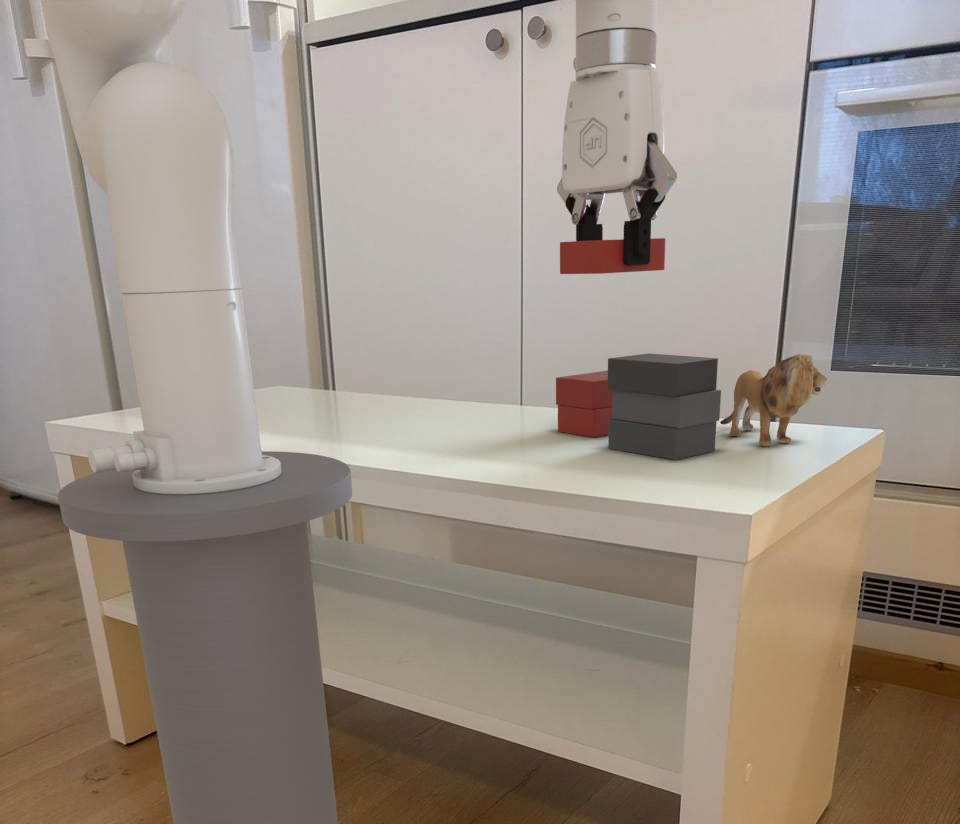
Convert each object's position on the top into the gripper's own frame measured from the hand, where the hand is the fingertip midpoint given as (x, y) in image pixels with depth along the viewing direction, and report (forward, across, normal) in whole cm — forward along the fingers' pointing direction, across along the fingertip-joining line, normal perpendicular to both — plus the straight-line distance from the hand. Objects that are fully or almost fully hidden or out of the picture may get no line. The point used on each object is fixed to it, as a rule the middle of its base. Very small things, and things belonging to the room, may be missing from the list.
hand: (612, 263), depth 96 cm
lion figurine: (+18, +12, +11) cm, 24 cm away
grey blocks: (+18, +8, -1) cm, 19 cm away
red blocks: (+18, -5, +4) cm, 19 cm away
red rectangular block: (+1, 0, 0) cm, 1 cm away
